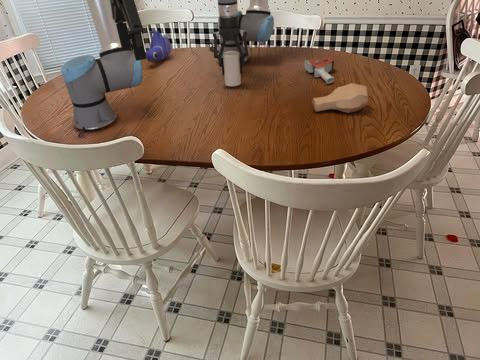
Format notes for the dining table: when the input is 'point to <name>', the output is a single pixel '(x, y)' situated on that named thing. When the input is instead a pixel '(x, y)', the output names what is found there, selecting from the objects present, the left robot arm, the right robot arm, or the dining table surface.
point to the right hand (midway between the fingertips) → (232, 73)
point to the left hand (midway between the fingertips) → (133, 53)
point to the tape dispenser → (321, 68)
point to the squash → (343, 99)
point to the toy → (158, 47)
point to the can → (232, 68)
